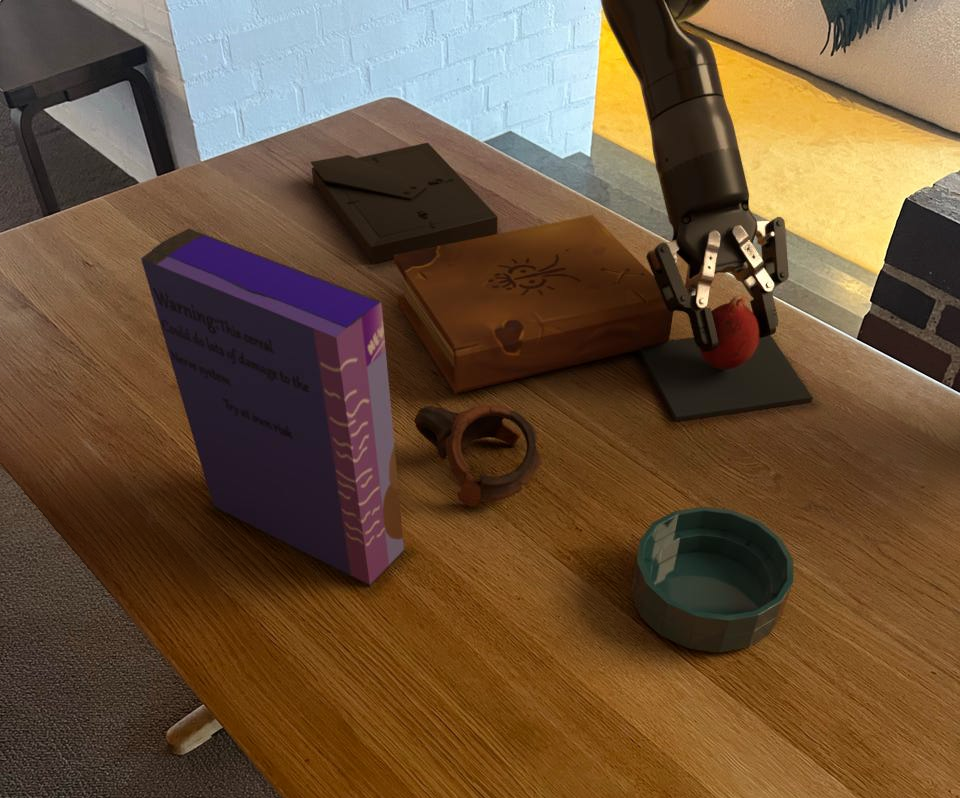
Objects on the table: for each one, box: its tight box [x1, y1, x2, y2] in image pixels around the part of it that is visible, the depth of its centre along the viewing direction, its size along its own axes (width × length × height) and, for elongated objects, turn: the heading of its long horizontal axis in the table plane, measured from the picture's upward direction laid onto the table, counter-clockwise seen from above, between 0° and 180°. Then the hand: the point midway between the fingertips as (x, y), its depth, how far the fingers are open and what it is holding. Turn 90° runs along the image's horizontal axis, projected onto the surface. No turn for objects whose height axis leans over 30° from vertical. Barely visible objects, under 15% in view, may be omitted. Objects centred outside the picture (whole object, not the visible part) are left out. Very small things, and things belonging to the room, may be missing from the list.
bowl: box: [630, 506, 795, 653], centre depth 79 cm, size 12×12×4 cm
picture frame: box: [310, 142, 498, 265], centre depth 120 cm, size 16×3×21 cm
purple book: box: [140, 228, 405, 587], centre depth 77 cm, size 17×5×24 cm, turn 57°
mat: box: [637, 335, 814, 422], centre depth 99 cm, size 14×12×1 cm
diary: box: [393, 214, 674, 395], centre depth 102 cm, size 23×19×6 cm
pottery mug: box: [413, 404, 544, 508], centre depth 88 cm, size 12×10×8 cm
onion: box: [699, 294, 760, 370], centre depth 96 cm, size 6×6×8 cm
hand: (739, 341), depth 95 cm, fingers closed on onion, 5 cm apart
